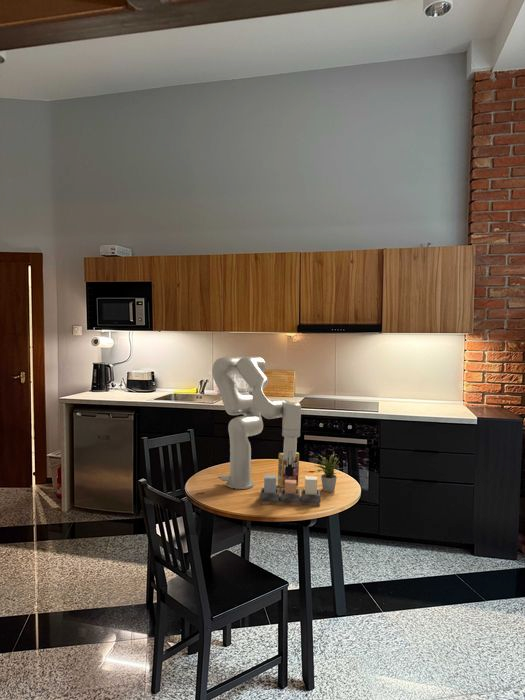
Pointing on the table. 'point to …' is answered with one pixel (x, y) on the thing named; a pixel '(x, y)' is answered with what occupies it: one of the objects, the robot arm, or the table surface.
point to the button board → (290, 498)
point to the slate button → (270, 484)
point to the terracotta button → (290, 486)
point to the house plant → (328, 474)
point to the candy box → (282, 470)
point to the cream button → (311, 485)
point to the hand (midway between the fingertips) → (289, 475)
